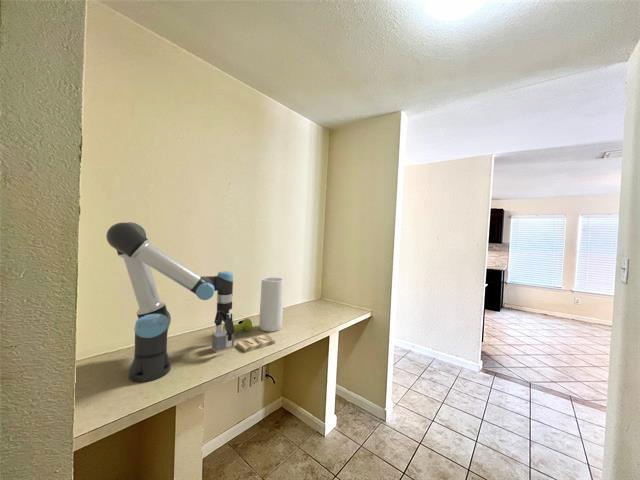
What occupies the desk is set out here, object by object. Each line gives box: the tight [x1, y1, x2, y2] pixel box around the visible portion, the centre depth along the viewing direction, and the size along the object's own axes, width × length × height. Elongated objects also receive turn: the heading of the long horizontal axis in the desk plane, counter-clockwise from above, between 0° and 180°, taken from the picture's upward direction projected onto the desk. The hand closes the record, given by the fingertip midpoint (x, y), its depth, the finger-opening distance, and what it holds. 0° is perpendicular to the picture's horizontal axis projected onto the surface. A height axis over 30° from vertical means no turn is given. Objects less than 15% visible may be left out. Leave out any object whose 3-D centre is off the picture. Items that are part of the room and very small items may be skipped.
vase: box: [258, 276, 285, 333], centre depth 168 cm, size 14×14×32 cm
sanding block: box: [211, 330, 235, 354], centre depth 137 cm, size 9×6×8 cm, turn 132°
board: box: [236, 333, 276, 353], centre depth 144 cm, size 18×10×2 cm, turn 132°
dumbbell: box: [222, 317, 253, 332], centre depth 159 cm, size 16×8×7 cm, turn 134°
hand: (223, 341), depth 138 cm, fingers open, 13 cm apart
